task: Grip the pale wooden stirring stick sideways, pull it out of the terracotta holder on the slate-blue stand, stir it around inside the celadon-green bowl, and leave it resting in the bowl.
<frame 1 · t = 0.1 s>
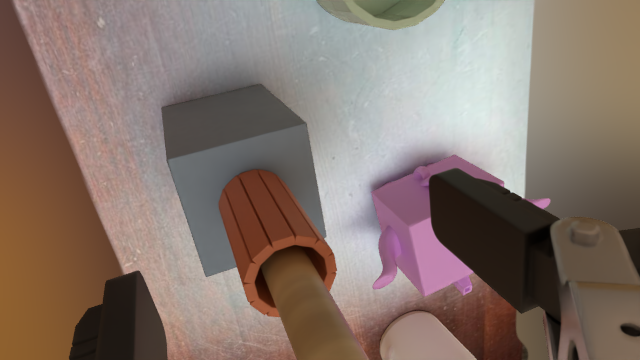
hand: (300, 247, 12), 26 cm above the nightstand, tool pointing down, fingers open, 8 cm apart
mug: (401, 336, 53), on the nightstand
teapot: (414, 205, 47), on the nightstand
stick: (256, 206, 26), point 13 cm above the nightstand, touching holder
holder: (225, 142, 37), on the nightstand
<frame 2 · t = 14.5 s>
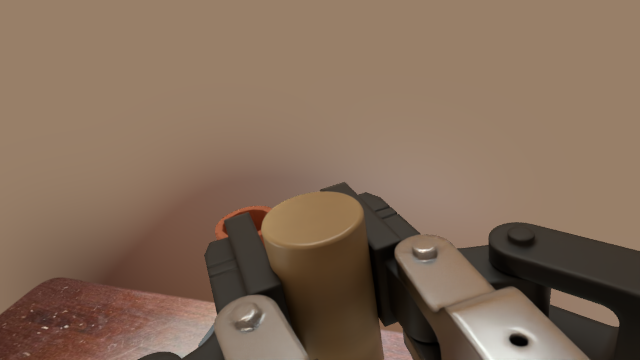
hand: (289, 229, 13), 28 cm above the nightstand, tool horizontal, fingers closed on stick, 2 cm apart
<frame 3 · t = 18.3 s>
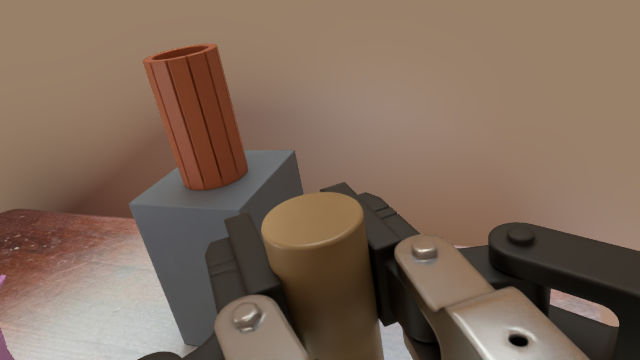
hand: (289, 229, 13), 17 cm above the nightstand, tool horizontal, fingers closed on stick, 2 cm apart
holder: (256, 312, 35), on the nightstand
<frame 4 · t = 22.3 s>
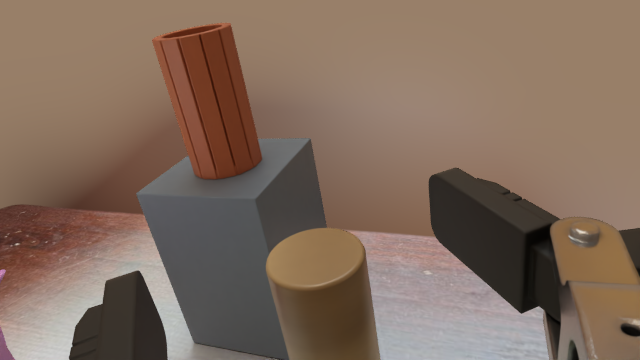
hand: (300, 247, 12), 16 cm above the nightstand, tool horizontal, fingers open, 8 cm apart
holder: (268, 310, 33), on the nightstand
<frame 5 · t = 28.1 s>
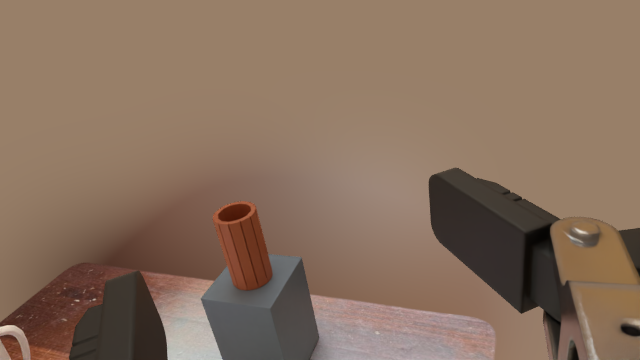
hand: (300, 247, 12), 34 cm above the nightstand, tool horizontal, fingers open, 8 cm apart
holder: (276, 357, 53), on the nightstand
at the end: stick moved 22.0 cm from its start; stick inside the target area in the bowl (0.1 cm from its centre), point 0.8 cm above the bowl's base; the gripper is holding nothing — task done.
